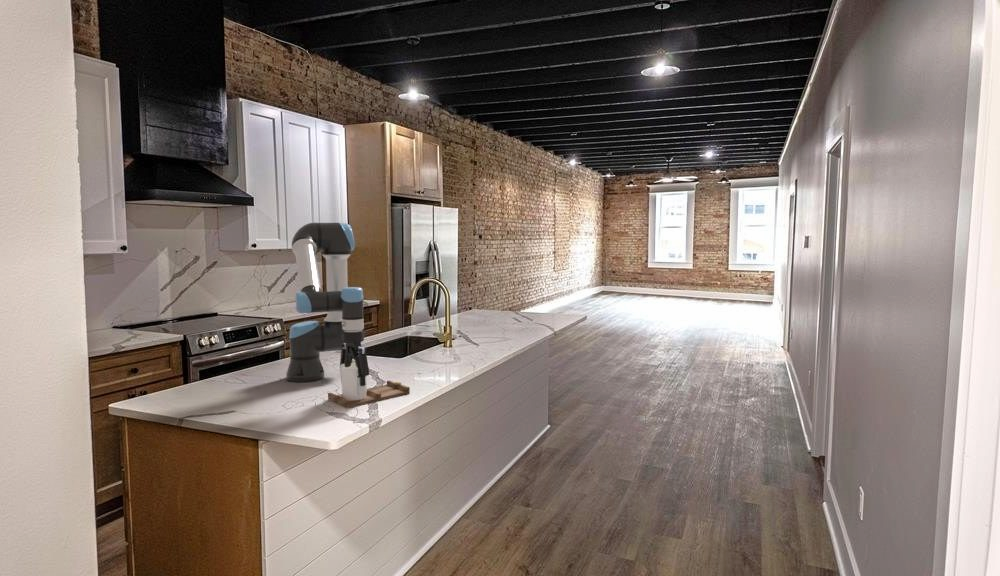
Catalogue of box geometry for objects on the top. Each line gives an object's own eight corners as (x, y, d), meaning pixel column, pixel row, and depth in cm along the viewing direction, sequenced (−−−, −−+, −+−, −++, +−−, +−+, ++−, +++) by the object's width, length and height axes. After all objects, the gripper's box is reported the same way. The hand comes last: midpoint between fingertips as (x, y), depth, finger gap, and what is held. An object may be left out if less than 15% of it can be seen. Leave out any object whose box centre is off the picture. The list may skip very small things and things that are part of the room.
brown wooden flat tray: (328, 399, 206) (327, 391, 206) (390, 386, 225) (390, 378, 224) (347, 408, 196) (347, 399, 196) (411, 393, 215) (411, 385, 214)
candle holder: (369, 399, 202) (369, 366, 201) (341, 402, 199) (340, 368, 198) (367, 392, 212) (366, 361, 211) (339, 395, 209) (339, 363, 208)
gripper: (328, 328, 209) (330, 387, 211) (359, 335, 193) (361, 399, 195) (347, 325, 214) (348, 384, 216) (378, 332, 198) (380, 395, 200)
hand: (354, 391), depth 205 cm, fingers closed on candle holder, 9 cm apart
